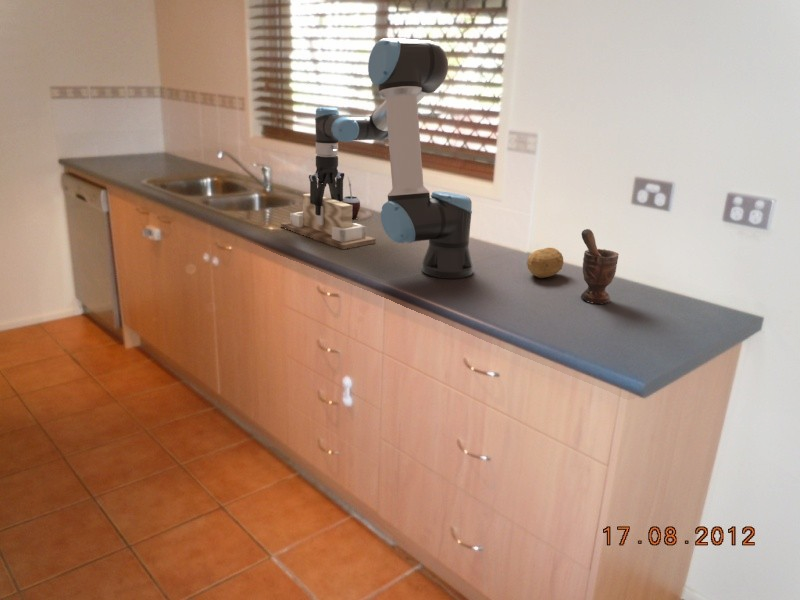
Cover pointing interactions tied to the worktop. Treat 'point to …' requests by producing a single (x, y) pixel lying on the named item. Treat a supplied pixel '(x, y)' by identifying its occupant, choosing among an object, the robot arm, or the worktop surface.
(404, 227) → the robot arm
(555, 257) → the potato
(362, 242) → the walnut board
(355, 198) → the mate gourd
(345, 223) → the slat
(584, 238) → the mortar and pestle
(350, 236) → the end caps
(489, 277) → the worktop surface
